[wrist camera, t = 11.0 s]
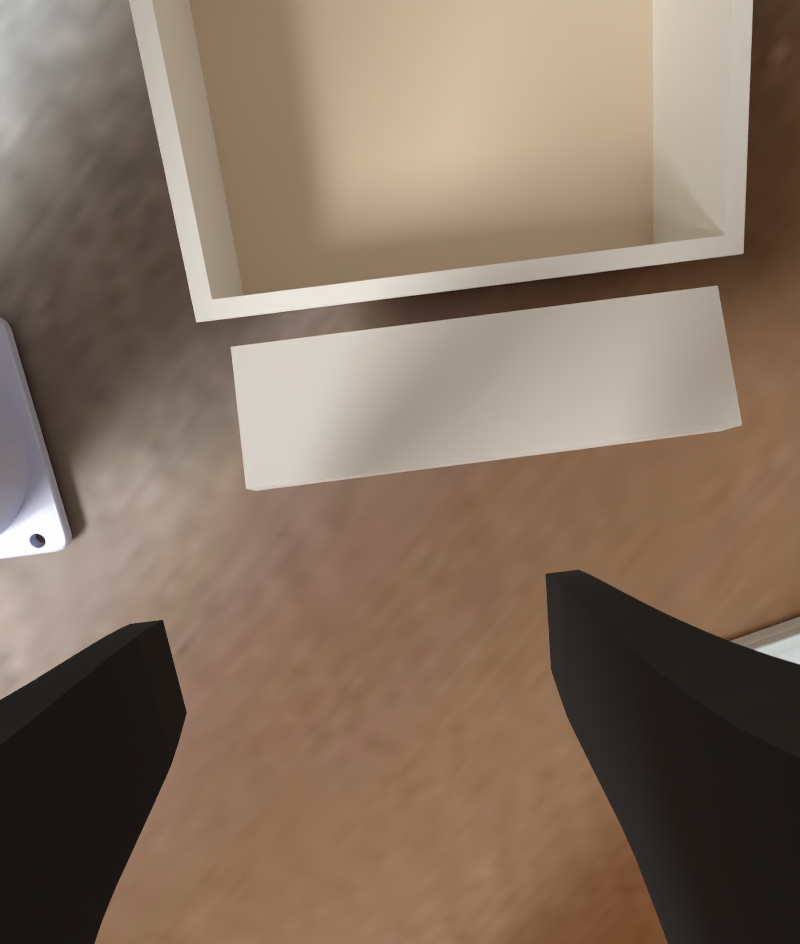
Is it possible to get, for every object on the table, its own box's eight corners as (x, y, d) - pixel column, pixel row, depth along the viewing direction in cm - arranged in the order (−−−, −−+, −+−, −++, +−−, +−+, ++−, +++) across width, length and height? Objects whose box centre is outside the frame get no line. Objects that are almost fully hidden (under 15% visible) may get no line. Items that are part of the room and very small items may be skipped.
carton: (235, 317, 19) (196, 322, 15) (148, -139, 16) (65, -303, 12) (661, 264, 20) (743, 253, 15) (661, -200, 16) (767, -383, 12)
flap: (230, 346, 15) (241, 357, 16) (245, 488, 15) (256, 490, 16) (717, 285, 15) (697, 300, 16) (742, 424, 15) (719, 431, 16)
